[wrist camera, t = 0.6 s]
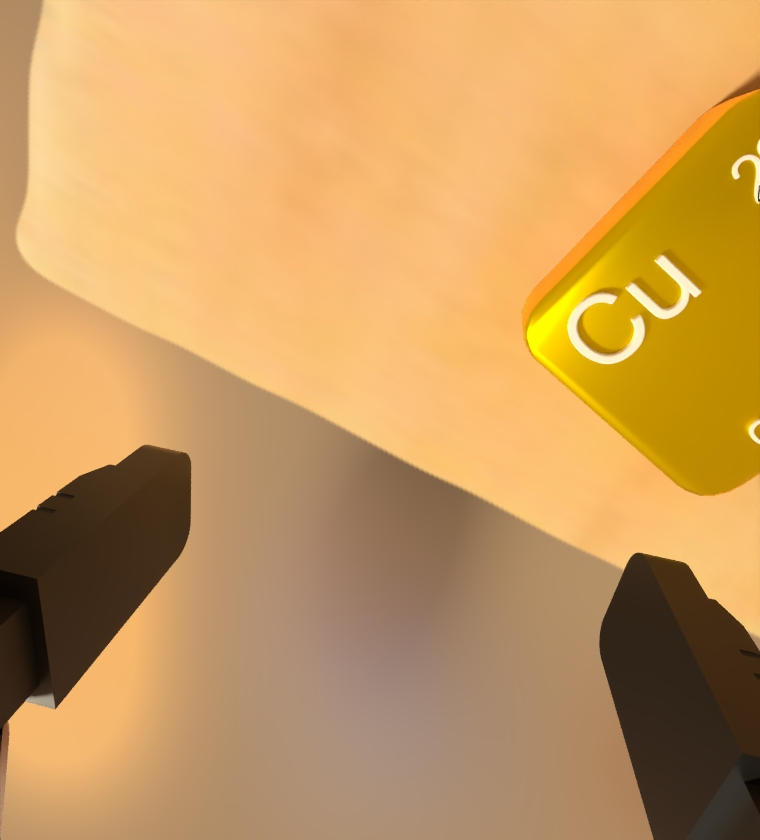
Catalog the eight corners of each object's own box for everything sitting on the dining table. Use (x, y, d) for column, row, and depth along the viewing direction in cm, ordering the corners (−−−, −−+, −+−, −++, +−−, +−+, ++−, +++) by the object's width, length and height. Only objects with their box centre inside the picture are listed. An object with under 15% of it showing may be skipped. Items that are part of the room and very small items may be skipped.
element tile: (682, 473, 33) (708, 517, 29) (506, 315, 31) (505, 337, 27) (944, 290, 26) (1028, 312, 22) (736, 77, 25) (783, 56, 20)
